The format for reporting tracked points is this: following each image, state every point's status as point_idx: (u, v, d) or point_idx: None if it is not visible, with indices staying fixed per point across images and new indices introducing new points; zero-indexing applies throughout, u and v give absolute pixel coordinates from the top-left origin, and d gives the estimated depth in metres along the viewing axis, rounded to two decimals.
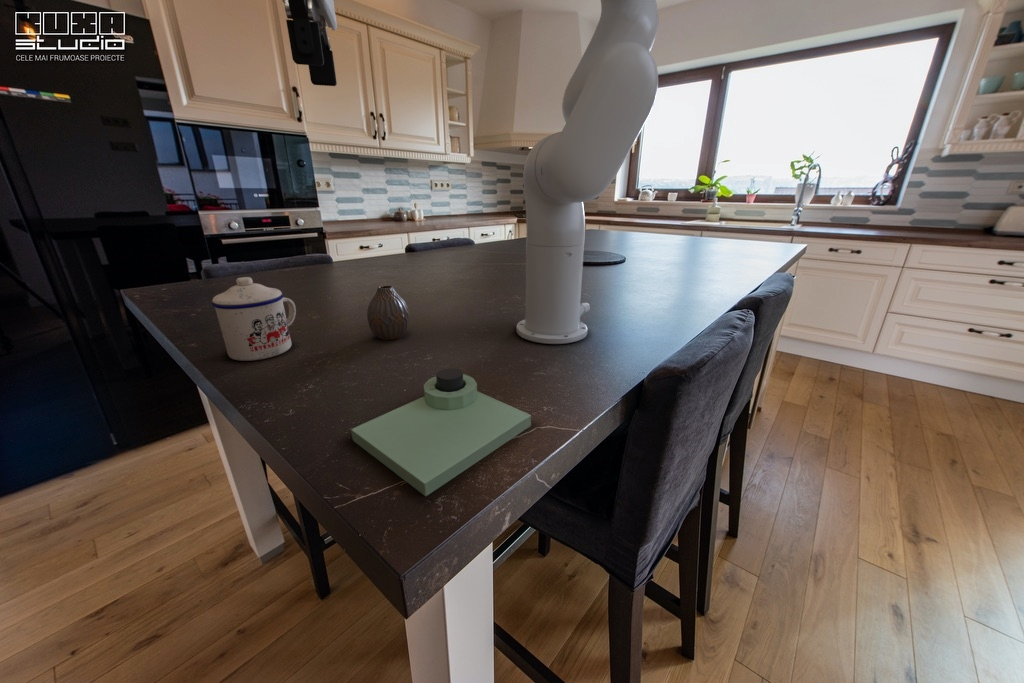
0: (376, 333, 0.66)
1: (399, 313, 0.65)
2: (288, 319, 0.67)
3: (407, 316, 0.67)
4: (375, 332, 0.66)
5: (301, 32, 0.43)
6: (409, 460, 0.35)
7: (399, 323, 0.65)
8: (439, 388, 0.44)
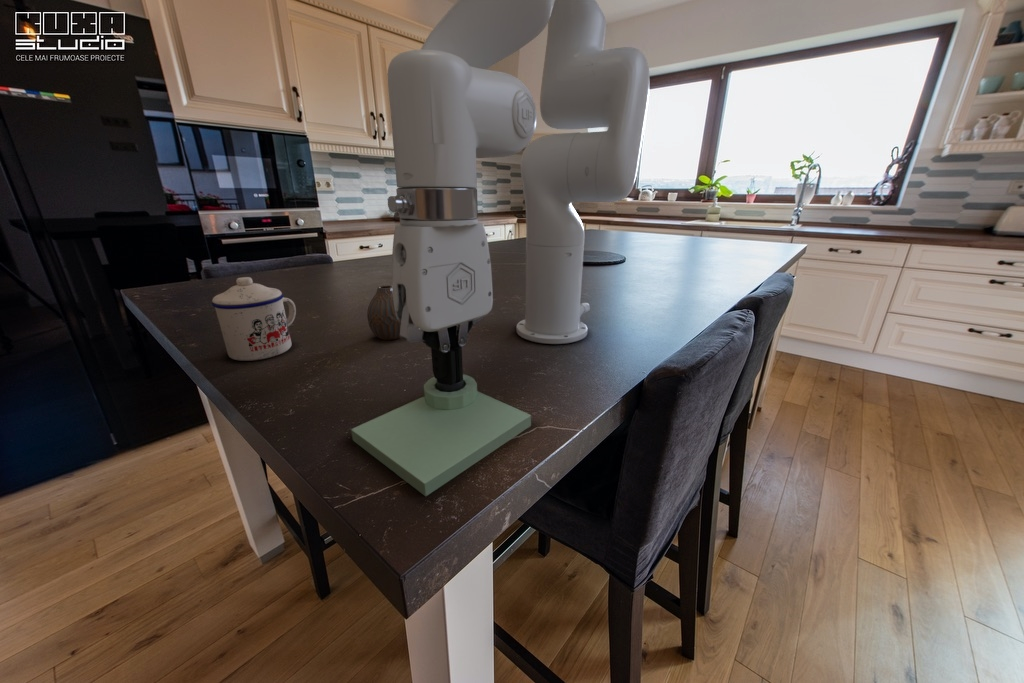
0: (376, 333, 0.66)
1: None
2: (288, 319, 0.67)
3: None
4: (375, 332, 0.66)
5: (435, 360, 0.43)
6: (409, 460, 0.35)
7: (399, 323, 0.65)
8: None
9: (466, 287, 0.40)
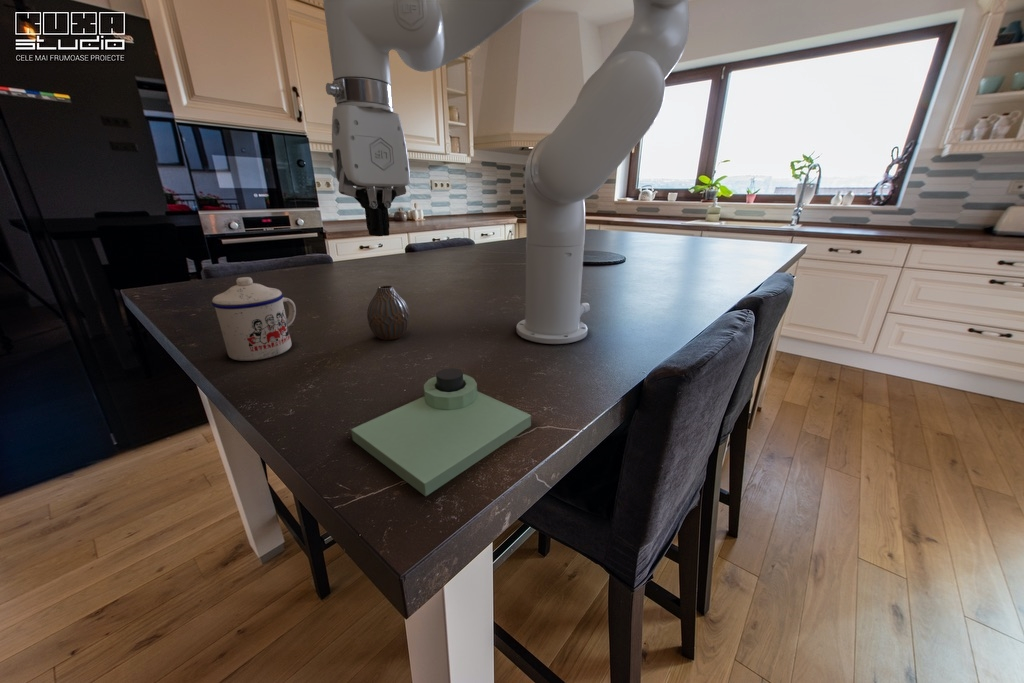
0: (376, 333, 0.66)
1: (399, 313, 0.65)
2: (288, 319, 0.67)
3: (407, 316, 0.67)
4: (375, 332, 0.66)
5: (368, 217, 0.60)
6: (409, 460, 0.35)
7: (399, 323, 0.65)
8: (439, 388, 0.44)
9: (386, 158, 0.57)
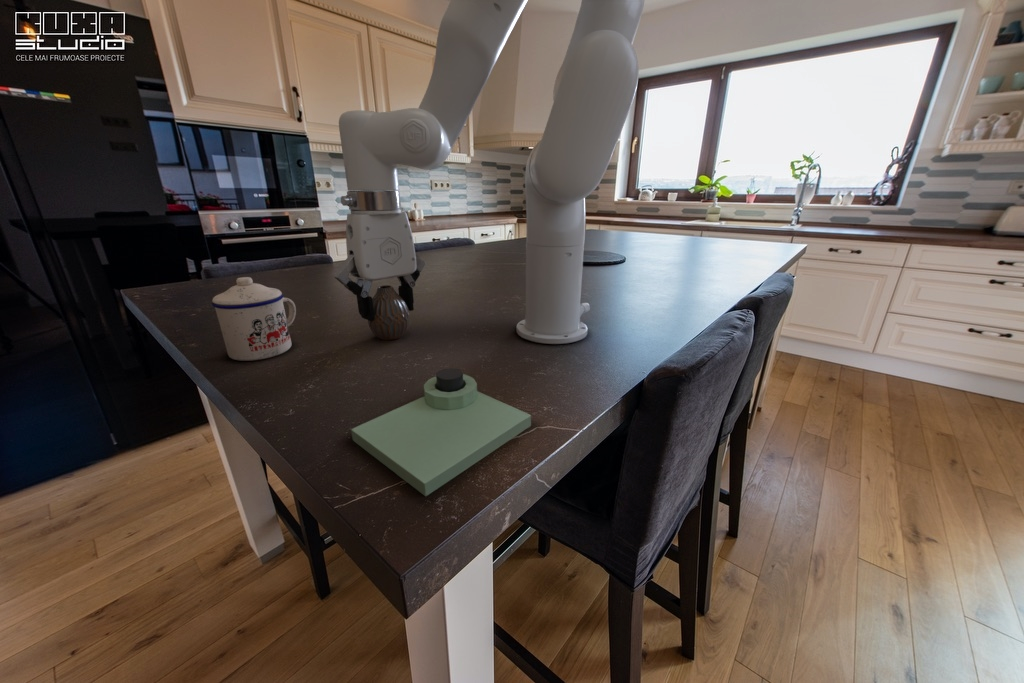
0: (376, 333, 0.66)
1: (399, 313, 0.65)
2: (288, 319, 0.67)
3: (407, 316, 0.67)
4: (375, 332, 0.66)
5: (359, 303, 0.63)
6: (409, 460, 0.35)
7: (399, 323, 0.65)
8: (439, 388, 0.44)
9: (394, 253, 0.63)
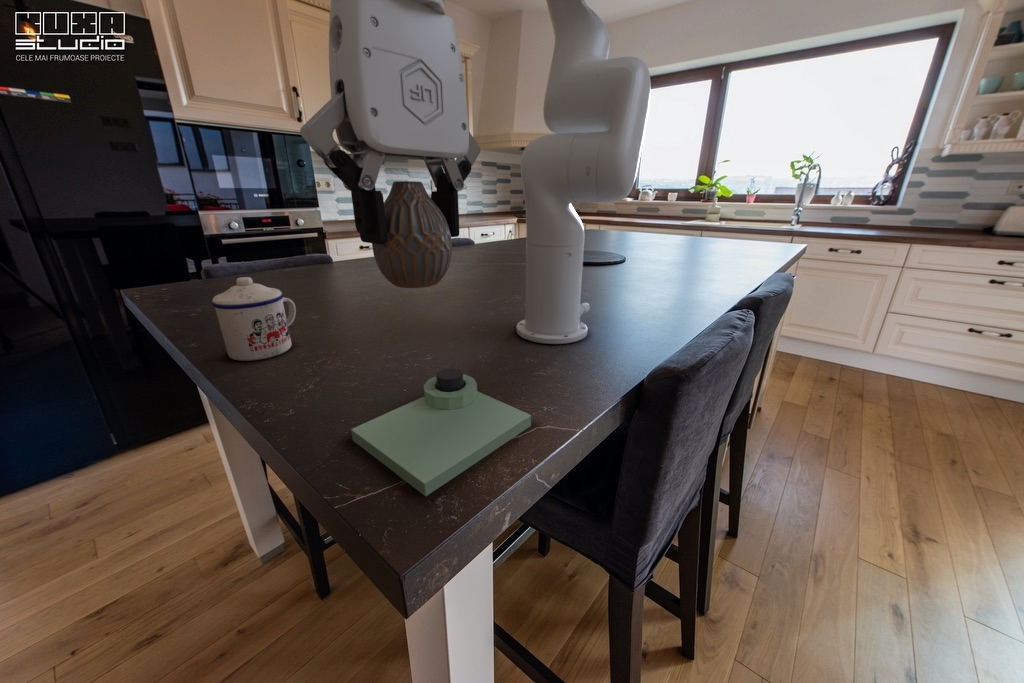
0: (389, 273, 0.34)
1: (435, 232, 0.33)
2: (288, 319, 0.67)
3: (449, 243, 0.35)
4: (387, 271, 0.34)
5: (357, 207, 0.31)
6: (409, 460, 0.35)
7: (434, 252, 0.33)
8: (439, 388, 0.44)
9: (430, 102, 0.30)
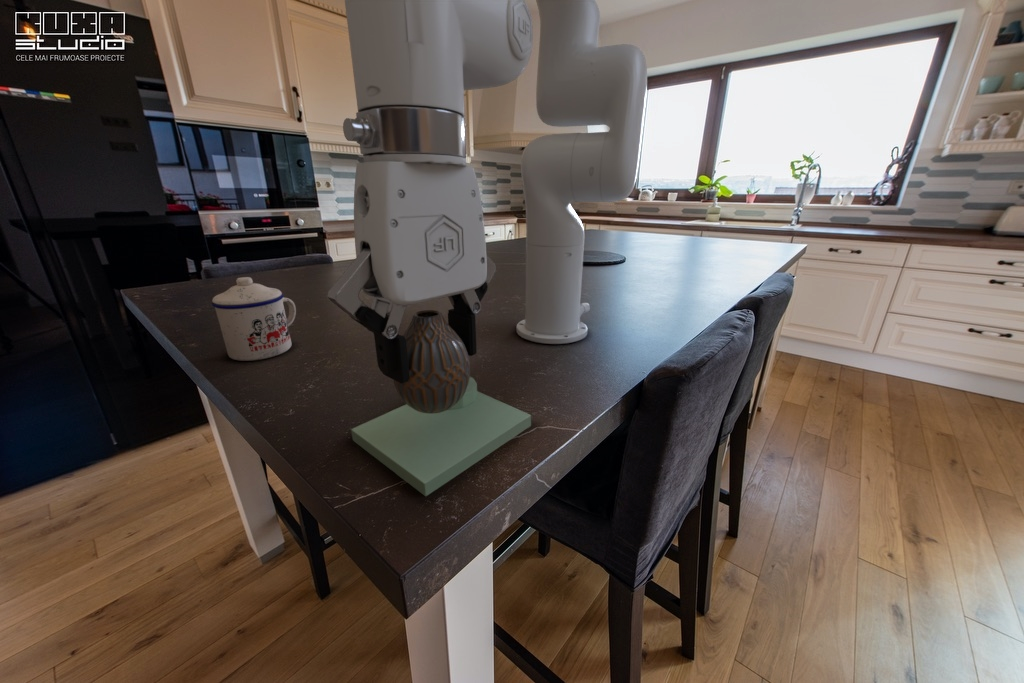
0: (410, 403, 0.34)
1: (455, 365, 0.33)
2: (288, 319, 0.67)
3: (468, 369, 0.35)
4: (408, 401, 0.34)
5: (380, 349, 0.31)
6: (409, 460, 0.35)
7: (455, 384, 0.34)
8: None
9: (452, 249, 0.31)
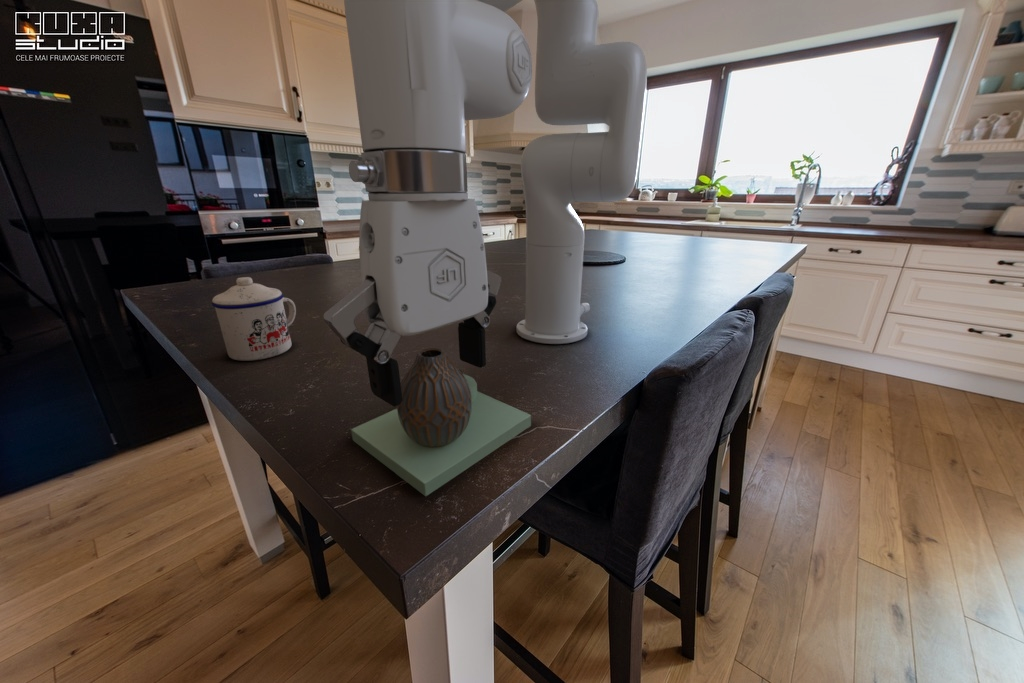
0: (414, 438, 0.36)
1: (458, 403, 0.35)
2: (288, 319, 0.67)
3: (470, 404, 0.37)
4: (412, 437, 0.35)
5: (372, 373, 0.31)
6: (409, 460, 0.35)
7: (457, 421, 0.35)
8: None
9: (454, 279, 0.32)
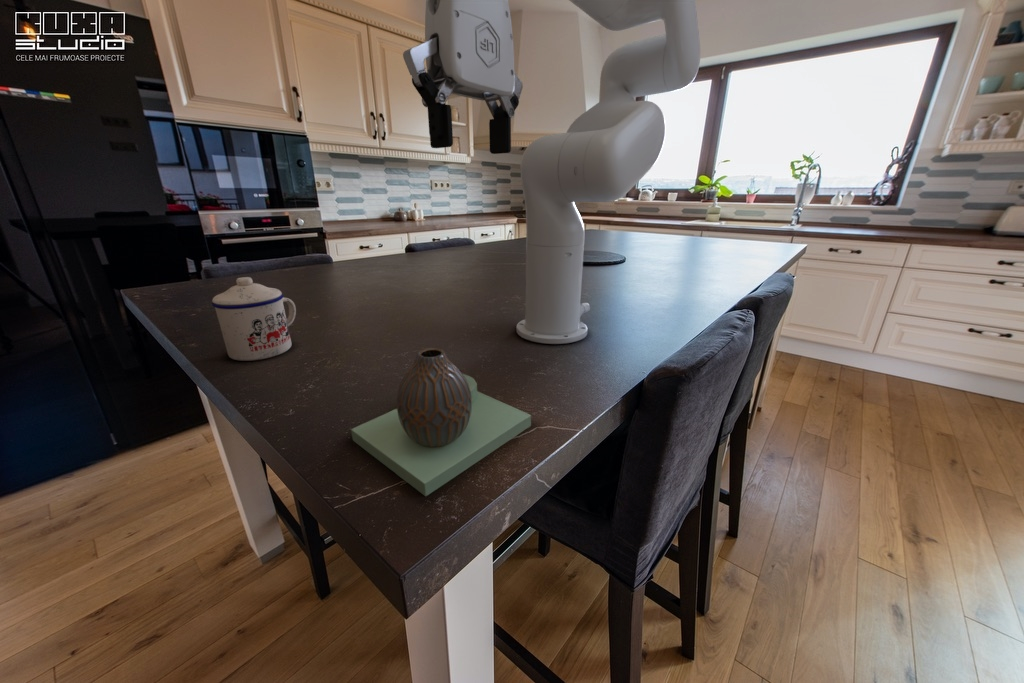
0: (414, 438, 0.36)
1: (458, 403, 0.35)
2: (288, 319, 0.67)
3: (470, 404, 0.37)
4: (412, 437, 0.35)
5: (432, 118, 0.43)
6: (409, 460, 0.35)
7: (457, 421, 0.35)
8: None
9: (492, 52, 0.43)
